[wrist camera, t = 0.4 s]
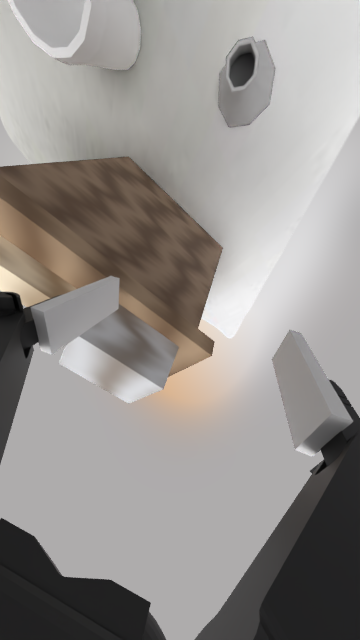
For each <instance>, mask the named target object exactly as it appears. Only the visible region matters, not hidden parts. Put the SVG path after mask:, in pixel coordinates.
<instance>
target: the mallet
mask: <svg viewBox="0 0 360 640" xmlns="http://www.w3.org/2000/svg"><path fill="white" fill-rule="evenodd" d="M73 290H76V288H75V287H73V286H72V285H71V284H69V283H68V282H66V281H65V280H63V279H62V278H61V277H59V276H58V275H56V274H55V273H53V272H52V271H51V270H49V269H48V268H46V267H45V266H43V265H42V264H41V263H39V262H38V261H36V260H35V259H33V258H32V257H30V256H29V255H28V254H26V253H25V252H23V251H22V250H20V249H19V248H18V247H16V246H15V245H13V244H12V243H10V242H9V241H8V240H6V239H5V238H3V237H2V236H0V291H2V292H14V293H17V294H19V295H20V298H21V302H22V304H23V305H24V306H26V307H29V306H32V305H34V304H37V303H40V302H42V301H45V300H47V299H51V298H53V297H55V296H58V295H63V294H66V293H68V292H71V291H73ZM178 348H179V347H178V346H177V345H176V344H174V343H173V342H172V341H170V340H169V339H167V338H166V337H165V336H163V335H162V334H160V333H159V332H158V331H156V330H155V329H153V328H152V327H151V326H149V325H148V324H147V323H145V322H144V321H142V320H141V319H140V318H138V317H137V316H135V315H134V314H133V313H131V312H130V311H128V310H127V309H126V308H124V307H123V306H122V305H120V304H119V308H118V310H116V311H115V312H113V313H112V314H110V315H109V316H107V317H106V318H105V319H103V320H102V321H100V322H99V323H97V324H96V325H94V326H93V327H92V328H90V329H89V330H87V331H86V332H84V333H83V334H81V335H80V336H79V337H77V338H76V339H74V340H73V341H71V342H70V343H68V344H67V345H66V347H65V349H64V351H63V354H62V356H61V359H60V361H59V364H61V365H62V366H64V367H66V368H67V369H69V370H71V371H73V372H75V373H76V374H78V375H80V376H81V377H83V378H85V379H87V380H88V381H90V382H92V383H94V384H95V385H97V386H99V387H101V388H103V389H104V390H106V391H108V392H110V393H111V394H113V395H115V396H117V397H118V398H120V399H122V400H123V401H126V402H127V403H131V402H134V401H136V400H138V399H141V398H143V397H146V396H148V395H150V394H153V393H155V392H158V391H160V390H163V389H164V386H165V383H166V381H167V378H168V375H169V372H170V370H171V367H172V364H173V362H174V359H175V356H176V354H177V351H178Z"/></svg>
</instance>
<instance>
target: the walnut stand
mask: <svg viewBox="0 0 360 640" xmlns="http://www.w3.org/2000/svg"><path fill="white" fill-rule="evenodd" d="M0 236H2V237H3V238H5V239H6V240H8V241H9V242H10V243H12V244H13V245H15V246H16V247H18V248H19V249H20V250H22V251H23V252H25V253H26V254H28V255H29V256H30V257H32V258H33V259H35V260H36V261H38V262H39V263H41V264H42V265H43V266H45V267H46V268H48V269H49V270H51V271H52V272H53V273H55V274H56V275H58V276H59V277H61V278H62V279H63V280H65V281H66V282H68V283H69V284H71V285H72V286H73V287H75V288H76V289H78V288H81V287H84V286H86V285H89V284H91V283H94V282H96V281H99V280H101V279H104V278H107V277H109V276H113V277H117V278H120V279H119V304H120V305H122V306H123V307H124V308H126V309H127V310H128V311H130V312H131V313H133V314H134V315H135V316H137V317H138V318H140V319H141V320H142V321H144V322H145V323H147V324H148V325H149V326H151V327H152V328H153V329H155V330H156V331H158V332H159V333H160V334H162V335H163V336H165V337H166V338H167V339H169V340H170V341H172V342H173V343H174V344H176V345H177V346H178V347H179V348H178V351H177V354H176V356H175V359H174V362H173V364H172V367H171V370H170V372H169V375H168V377H169V376H171V375H173V374H175V373H177V372H179V371H181V370H183V369H186V368H188V367H190V366H192V365H194V364H196V363H198V362H200V361H202V360H204V359H206V358H208V357H210V356H212V352H213V347H214V341H213V340H211V339H210V338H209V337H208V336H207V335H205V334H204V333H203V332H201V331H200V330H199V329H198V326H199V323H200V320H201V317H202V314H203V310H204V307H205V304H206V301H207V297H208V294H209V291H210V288H211V284H212V281H213V278H214V275H215V272H216V268H217V265H218V262H219V259H220V255H221V252H222V249H223V248H222V247H221V246H220V245H219V244H218V243H217V242H216V241H215V240H214V239H213V238H212V237H211V236H210V235H209V234H208V233H207V232H206V231H205V230H204V229H203V228H202V227H201V226H200V225H199V224H198V223H196V222H195V221H194V220H193V219H192V218H191V217H190V216H189V215H188V214H187V213H186V212H185V211H184V210H183V209H182V208H181V207H180V206H179V205H178V204H177V203H176V202H175V201H174V200H173V199H172V198H171V197H170V196H169V195H168V194H167V193H165V192H164V191H163V190H162V189H161V188H160V187H159V186H158V185H157V184H156V183H155V182H154V181H153V180H152V179H151V178H150V177H149V176H148V175H147V174H146V173H145V172H144V171H143V170H142V169H141V168H140V167H139V166H138V165H137V164H136V163H134V162H133V161H132V160H131V159H130V158H129V157H118V158H106V159H93V160H80V161H67V162H54V163H42V164H29V165H16V166H4V167H0Z"/></svg>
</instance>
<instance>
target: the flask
mask: <svg viewBox="0 0 360 640" xmlns="http://www.w3.org/2000/svg"><path fill="white" fill-rule="evenodd" d="M274 74H275V66H274V63H273V61H272V58H271V55H270V53H269V50H268V47H267V44H266V42H265V40H262V41H258V42H255V40H254V38H253V37H249V38H245V39H241V40H238V41H237V43H236V44H235V46H234V47H233V48H232V50H231V51H230V52H229V54H228V55H227V57H226V65H225V66H224V68H223V69H222V70H221V72H220V79H219V102H218V106H219V108H220V110H221V112H222V114H223V116H224V118H225V120H226V122H227V124H228V126H229V127H236V126H243V125H250V124H251V123H252V122H253V121H254V119H255V118H256V117H257V116H258V115H259V114H260V113H261V112H262V111H263V110H264V109H265V108H266V107H267V106H268V105H269V104H270V99H271V92H272V86H273V80H274Z"/></svg>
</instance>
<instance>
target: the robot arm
mask: <svg viewBox="0 0 360 640" xmlns="http://www.w3.org/2000/svg"><path fill="white" fill-rule="evenodd" d="M119 279H120V278H117V277H113V276H109V277H107V278H104V279H101V280H99V281H96V282H94V283H91V284H89V285H86V286H84V287H81V288H78V289H76V290H73V291H71V292H68V293H66V294H63V295H58V296H55V297H53V298H51V299H47V300H45V301H42V302H40V303H37V304H34V305H32V306H29V307H27V308H24V309H23V306H22V302H21V298H20V295H19V294H17V293H14V292H0V463H1V460H2V457H3V453H4V450H5V446H6V443H7V440H8V436H9V433H10V429H11V426H12V423H13V419H14V416H15V412H16V408H17V406H18V402H19V399H20V395H21V392H22V389H23V385H24V382H25V378H26V375H27V372H28V368H29V365H30V361H31V358H32V354H33V351H34V349H33V345H34V344H36V343H37V342H39V345H40V350H41V351H44V352H46V353H49V354H51V355H52V354H54V353H55V352H57V351H58V350H60V349H61V348H62V347H64V346H65V345H67V344H68V343H70V342H71V341H73V340H74V339H76V338H77V337H79V336H80V335H81V334H83V333H84V332H86V331H87V330H89V329H90V328H92V327H93V326H94V325H96V324H97V323H99V322H100V321H102V320H103V319H105V318H106V317H107V316H109V315H110V314H112V313H113V312H115V311H116V310H118V308H119ZM272 361H273V365H274V369H275V373H276V377H277V381H278V385H279V389H280V392H281V397H282V401H283V405H284V409H285V412H286V416H287V420H288V424H289V428H290V432H291V436H292V440H293V444H294V448H295V450H297V451H299V452H302V453H305V454H307V455H310V456H314V455H315V454H316V453H317V452H319V451H320V450H321V452H322V454H323V457H324V460H323V461H322V462H320V463H319V464H318V465H317V466H315V467H314V468H313V469H312V470H311V471H310V472H311V473H312V475H311V476H310V478H309V480H308V481H307V483H306V484H305V486H304V487H303V489H302V490H301V491H300V493H299V494H298V496H297V497H296V499H295V500H294V502H293V503H292V505H291V506H290V508H289V509H288V511H287V512H286V514H285V515H284V516H283V518H282V520H281V521H280V522H279V524H278V525H277V527H276V528H275V530H274V531H273V533H272V534H271V536H270V537H269V539H268V540H267V542H266V543H265V545H264V546H263V548H262V549H261V551H260V552H259V553H258V555H257V556H256V558H255V560H254V561H253V562H252V564H251V565H250V567H249V568H248V570H247V571H246V573H245V574H244V576H243V577H242V579H241V580H240V582H239V583H238V585H237V586H236V588H235V589H234V590H233V592H232V594H231V595H230V596H229V598H228V599H227V601H226V602H225V604H224V605H223V607H222V608H221V610H220V611H219V612H218V614H217V615H216V616H215V617H214V618H213V619H212V620H211V621H210V622H209V623H208V624H207V625H206V626H205V627H204V628H203V630H202V631H201V633H199V635H198V636H197V637H196V639H195V640H360V418H359V416H358V415H357V413H356V412H355V410H354V408H353V407H351V404H350V402H349V401H348V400H347V398H346V396H345V394H344V393H343V391H342V390H341V388H339V386H337V384H336V383H335V382H333V381H332V380H329V379H328V378H327V376H326V374H325V373H324V371H323V369H322V368H321V366H320V364H319V363H318V361H317V359H316V357H315V356H314V354H313V352H312V351H311V349H310V347H309V346H308V344H307V342H306V341H305V339H304V337H303V335H302V334H301V333H299V332H296V331H292V330H289V332H288V333H287V335H286V337H285V338H284V340H283V342H282V343H281V345H280V347H279V348H278V350H277V352H276V353H275V355H274V357H273V358H272ZM150 604H151V603H150V602H148V601H146V600H145V599H143V598H141V597H140V596H138V595H136V594H134V593H133V592H131V591H129V590H127V589H126V588H124V587H122V586H120V585H119V584H117V583H115V582H113V581H112V580H104V579H88V578H71V577H64V576H62V575H61V573H60V572H59V570H58V569H57V567H56V566H55V564H54V563H53V561H52V560H51V558H50V557H49V556H48V554H47V553H46V552H45V550H44V549H43V548H42V546H41V545H40V543H39V542H38V541H37V539H36V538H35V537H34V536H32V535H31V534H29V533H27V532H25V531H24V530H22V529H20V528H18V527H16V526H15V525H13V524H11V523H9V522H8V521H6V520H4V519H2V518H1V519H0V640H166V639H165V636H164V634H163V632H162V630H161V629H160V627H159V625H158V624H157V622H156V620H155V619H154V618H153V616H152V615H151V613H150V612H149V607H150Z"/></svg>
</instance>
